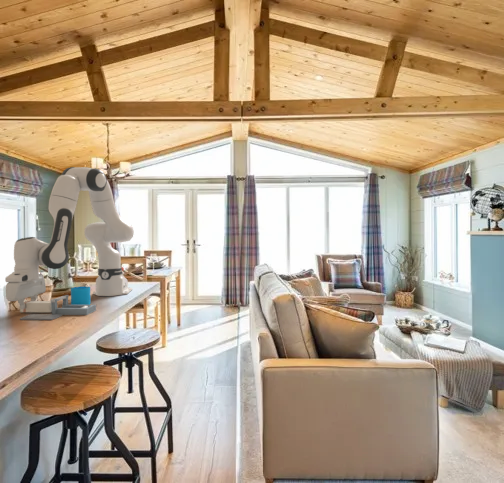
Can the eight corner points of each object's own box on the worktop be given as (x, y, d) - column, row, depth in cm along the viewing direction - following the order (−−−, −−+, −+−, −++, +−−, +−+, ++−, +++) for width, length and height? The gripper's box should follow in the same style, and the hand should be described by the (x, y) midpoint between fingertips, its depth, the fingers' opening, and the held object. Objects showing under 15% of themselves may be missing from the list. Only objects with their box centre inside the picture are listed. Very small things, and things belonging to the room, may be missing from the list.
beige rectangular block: (20, 312, 150) (19, 302, 150) (26, 309, 154) (26, 300, 154) (49, 312, 149) (49, 302, 149) (55, 310, 153) (55, 300, 153)
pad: (31, 315, 146) (31, 313, 146) (62, 315, 145) (62, 314, 145) (19, 319, 139) (19, 318, 139) (52, 320, 138) (51, 318, 138)
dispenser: (50, 315, 146) (50, 300, 146) (65, 309, 156) (65, 295, 156) (85, 315, 145) (84, 300, 145) (97, 309, 156) (97, 295, 155)
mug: (86, 307, 161) (86, 289, 161) (68, 307, 161) (67, 289, 160) (96, 301, 173) (96, 284, 173) (79, 301, 173) (78, 285, 172)
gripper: (35, 272, 162) (36, 302, 162) (2, 278, 141) (3, 312, 142) (49, 272, 161) (49, 302, 162) (17, 278, 141) (18, 313, 142)
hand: (27, 307), depth 152 cm, fingers closed on beige rectangular block, 4 cm apart
